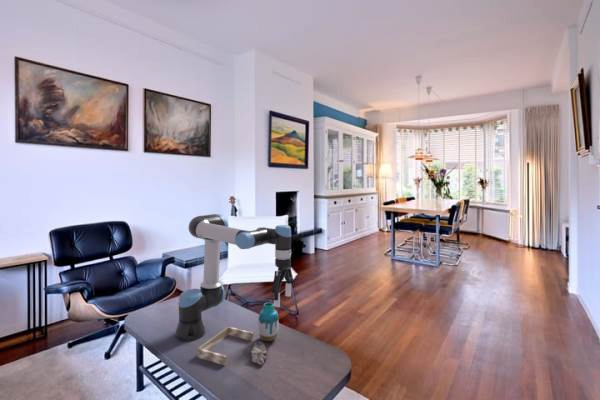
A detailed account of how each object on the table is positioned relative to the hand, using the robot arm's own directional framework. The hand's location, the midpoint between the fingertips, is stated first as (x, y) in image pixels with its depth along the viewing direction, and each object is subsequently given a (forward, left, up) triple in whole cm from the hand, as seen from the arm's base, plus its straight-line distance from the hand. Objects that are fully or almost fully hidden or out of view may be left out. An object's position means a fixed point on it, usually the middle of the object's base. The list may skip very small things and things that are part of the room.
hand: (282, 301), depth 145 cm
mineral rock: (-9, -7, -27) cm, 29 cm away
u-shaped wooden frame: (-28, -7, -26) cm, 39 cm away
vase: (-13, +9, -27) cm, 31 cm away
